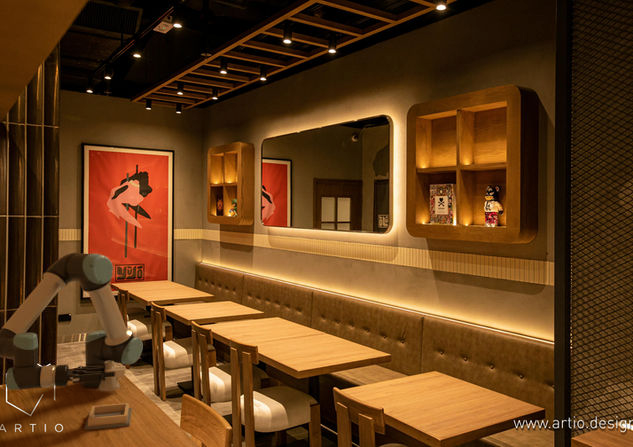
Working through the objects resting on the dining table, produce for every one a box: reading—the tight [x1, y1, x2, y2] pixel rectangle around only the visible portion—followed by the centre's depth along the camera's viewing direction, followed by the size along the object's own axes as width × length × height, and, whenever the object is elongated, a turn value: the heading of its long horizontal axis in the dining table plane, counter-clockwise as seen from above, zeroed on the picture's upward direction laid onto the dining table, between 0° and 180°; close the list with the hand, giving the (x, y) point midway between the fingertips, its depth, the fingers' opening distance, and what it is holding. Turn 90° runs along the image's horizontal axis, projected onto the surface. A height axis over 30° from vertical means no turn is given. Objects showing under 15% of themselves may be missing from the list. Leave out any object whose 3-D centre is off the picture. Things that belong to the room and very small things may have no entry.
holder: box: [84, 402, 133, 431], centre depth 194 cm, size 15×15×4 cm
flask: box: [98, 361, 121, 392], centre depth 193 cm, size 7×7×10 cm
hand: (124, 371), depth 195 cm, fingers closed on flask, 3 cm apart
